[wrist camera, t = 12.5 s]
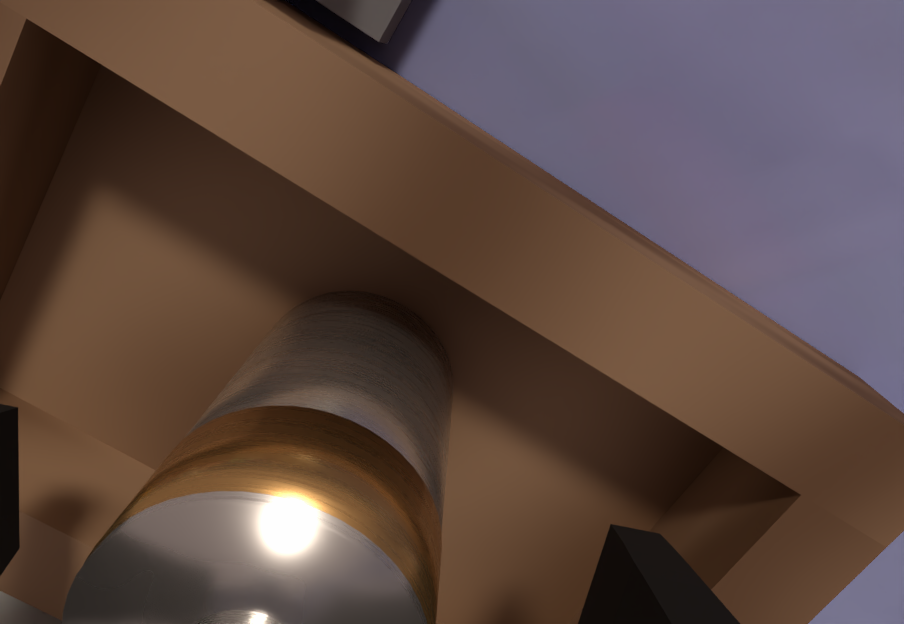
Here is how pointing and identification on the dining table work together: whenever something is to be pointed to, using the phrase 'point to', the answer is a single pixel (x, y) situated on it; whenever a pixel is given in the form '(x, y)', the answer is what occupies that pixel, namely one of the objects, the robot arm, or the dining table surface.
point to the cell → (295, 485)
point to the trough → (409, 283)
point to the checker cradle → (370, 15)
